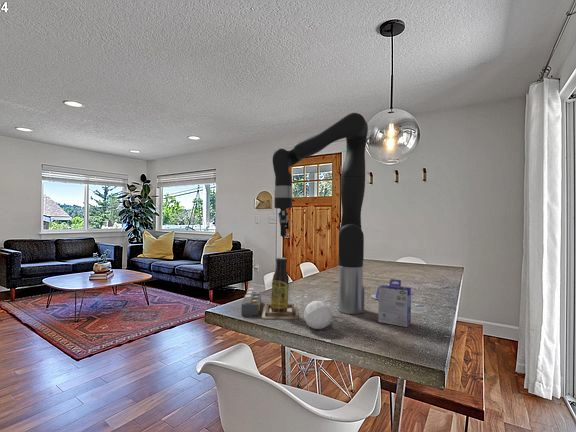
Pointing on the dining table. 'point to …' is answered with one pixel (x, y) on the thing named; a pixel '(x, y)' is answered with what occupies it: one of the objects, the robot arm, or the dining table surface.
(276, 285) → the sauce bottle
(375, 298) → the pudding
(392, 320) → the ink cartridge box
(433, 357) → the dining table surface
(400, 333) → the dining table surface
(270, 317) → the square beige tray
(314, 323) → the faceted ball with stub
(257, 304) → the breaker bank
